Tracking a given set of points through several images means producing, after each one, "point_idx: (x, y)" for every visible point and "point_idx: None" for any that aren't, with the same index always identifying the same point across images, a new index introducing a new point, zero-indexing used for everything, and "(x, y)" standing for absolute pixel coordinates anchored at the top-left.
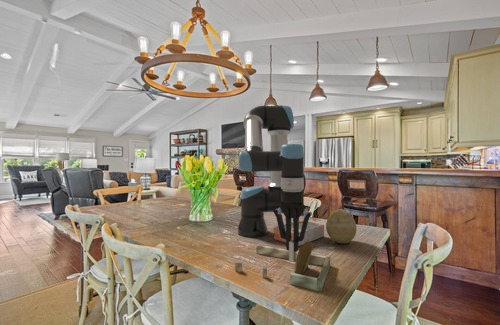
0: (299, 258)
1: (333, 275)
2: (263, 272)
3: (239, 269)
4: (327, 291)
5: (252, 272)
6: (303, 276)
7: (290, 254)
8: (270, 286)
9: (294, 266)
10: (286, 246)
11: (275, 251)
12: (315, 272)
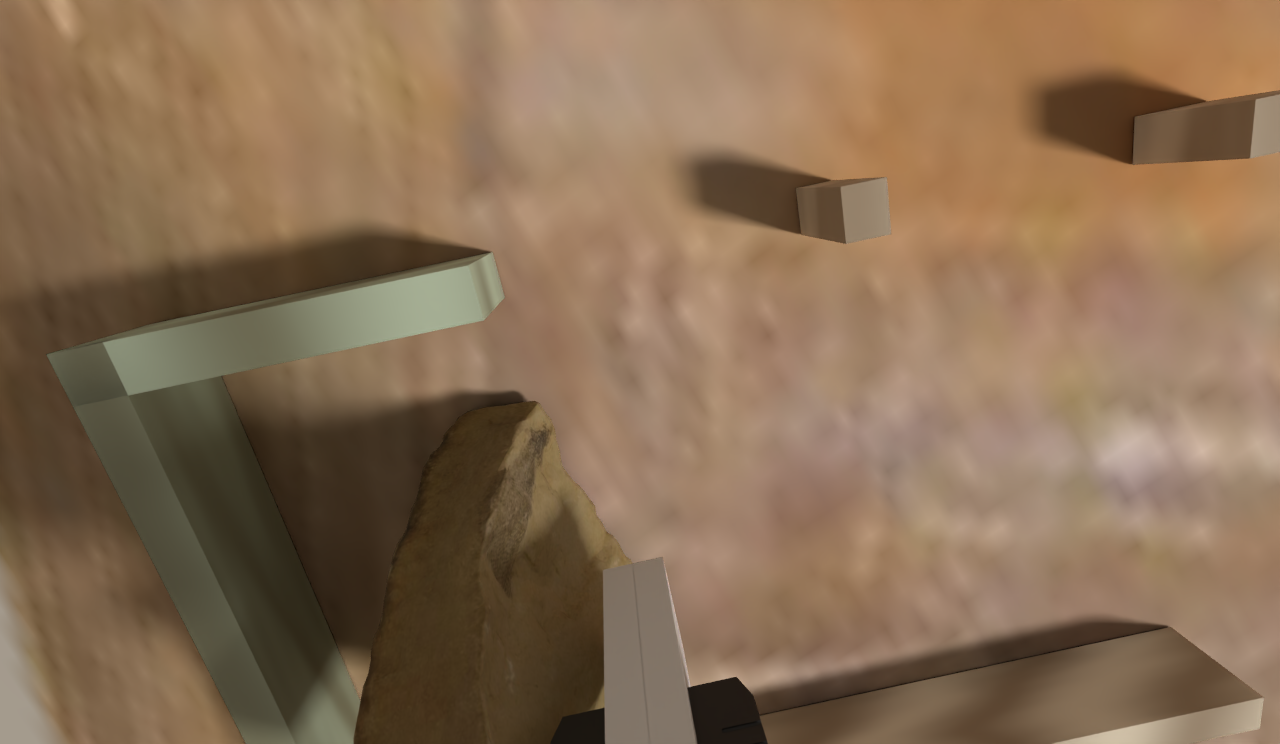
0: (471, 602)
1: None
2: (848, 182)
3: (1179, 110)
4: None
5: (999, 213)
6: (293, 322)
7: (653, 631)
8: (650, 59)
9: None
10: (760, 730)
11: (975, 728)
12: None
